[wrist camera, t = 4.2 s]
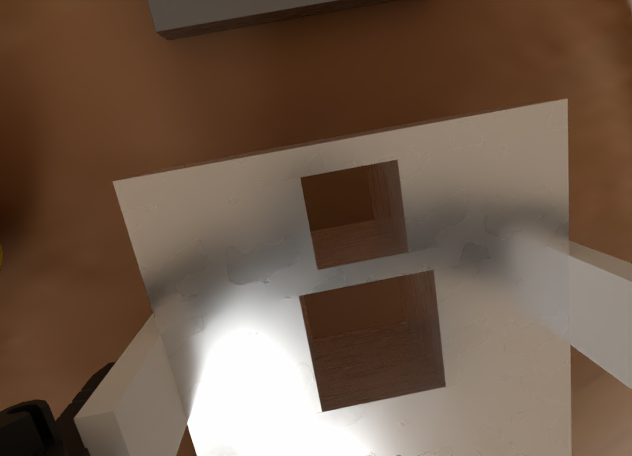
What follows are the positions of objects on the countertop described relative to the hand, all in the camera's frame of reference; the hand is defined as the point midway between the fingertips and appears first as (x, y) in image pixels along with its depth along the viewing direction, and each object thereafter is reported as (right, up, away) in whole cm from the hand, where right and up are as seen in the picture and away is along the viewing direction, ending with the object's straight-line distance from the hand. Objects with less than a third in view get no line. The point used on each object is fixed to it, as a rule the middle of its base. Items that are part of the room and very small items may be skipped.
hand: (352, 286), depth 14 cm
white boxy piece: (0, 0, 0) cm, 0 cm away
